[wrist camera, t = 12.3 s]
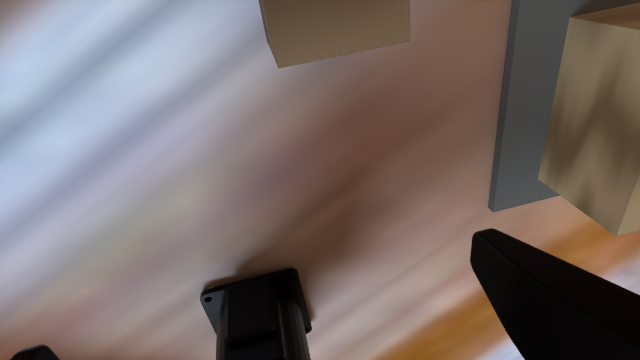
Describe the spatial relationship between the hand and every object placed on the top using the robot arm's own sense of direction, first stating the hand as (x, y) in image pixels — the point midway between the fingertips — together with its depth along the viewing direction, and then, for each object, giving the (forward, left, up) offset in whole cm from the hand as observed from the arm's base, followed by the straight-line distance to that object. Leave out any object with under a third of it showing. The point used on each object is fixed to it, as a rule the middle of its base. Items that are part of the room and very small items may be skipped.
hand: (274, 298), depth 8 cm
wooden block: (-4, -19, -12) cm, 23 cm away
